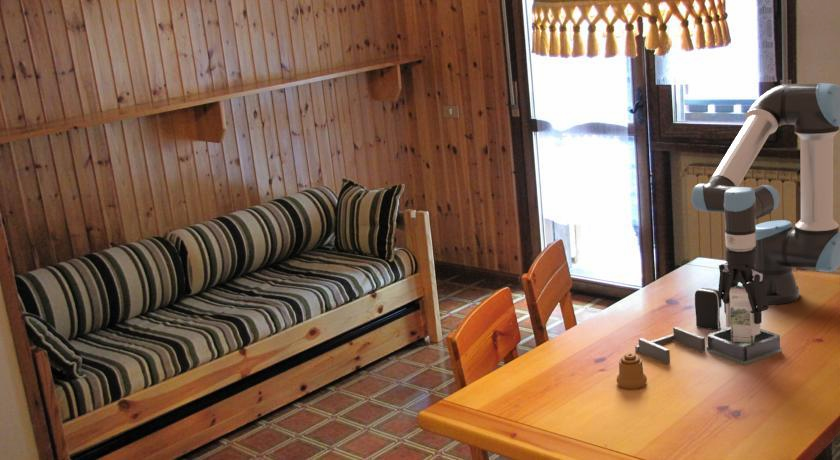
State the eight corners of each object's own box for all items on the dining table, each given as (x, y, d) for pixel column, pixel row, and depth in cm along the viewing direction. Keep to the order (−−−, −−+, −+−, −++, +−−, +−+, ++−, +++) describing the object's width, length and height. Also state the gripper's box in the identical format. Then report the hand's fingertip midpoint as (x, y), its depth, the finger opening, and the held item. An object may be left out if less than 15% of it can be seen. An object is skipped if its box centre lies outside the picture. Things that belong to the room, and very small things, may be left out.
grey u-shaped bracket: (673, 338, 262) (672, 325, 261) (705, 351, 251) (704, 337, 250) (635, 351, 256) (634, 337, 255) (666, 364, 245) (665, 350, 244)
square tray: (743, 337, 256) (743, 322, 255) (781, 351, 245) (781, 335, 244) (706, 350, 251) (705, 335, 250) (743, 365, 239) (743, 349, 238)
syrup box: (755, 336, 248) (754, 284, 245) (753, 344, 243) (752, 291, 240) (733, 335, 251) (731, 283, 247) (730, 343, 246) (728, 291, 242)
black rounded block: (724, 326, 266) (722, 288, 263) (717, 331, 263) (716, 292, 260) (701, 322, 271) (700, 285, 268) (695, 327, 268) (693, 289, 265)
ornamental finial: (652, 381, 236) (637, 392, 231) (626, 376, 241) (611, 386, 236) (650, 352, 234) (635, 363, 229) (624, 347, 239) (609, 357, 234)
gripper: (701, 243, 248) (704, 323, 254) (760, 258, 230) (762, 344, 236) (722, 237, 251) (725, 316, 257) (782, 252, 233) (784, 337, 239)
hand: (743, 329), depth 246 cm, fingers closed on syrup box, 8 cm apart
